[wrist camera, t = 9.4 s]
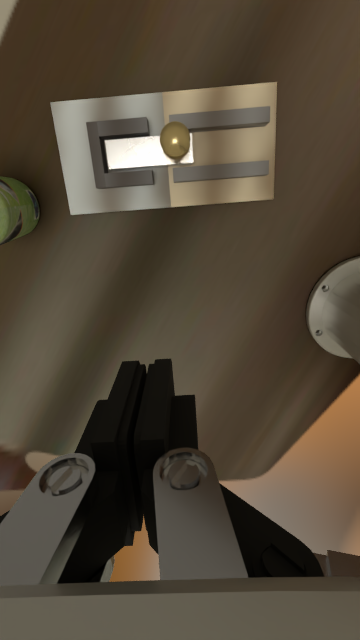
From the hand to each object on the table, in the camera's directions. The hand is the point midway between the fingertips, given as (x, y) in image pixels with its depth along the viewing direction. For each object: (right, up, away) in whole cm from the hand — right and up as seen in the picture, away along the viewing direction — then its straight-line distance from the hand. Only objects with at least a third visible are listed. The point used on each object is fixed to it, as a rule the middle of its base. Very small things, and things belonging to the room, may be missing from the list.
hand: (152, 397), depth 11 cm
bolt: (-2, +19, +20) cm, 27 cm away
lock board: (0, +20, +22) cm, 29 cm away
